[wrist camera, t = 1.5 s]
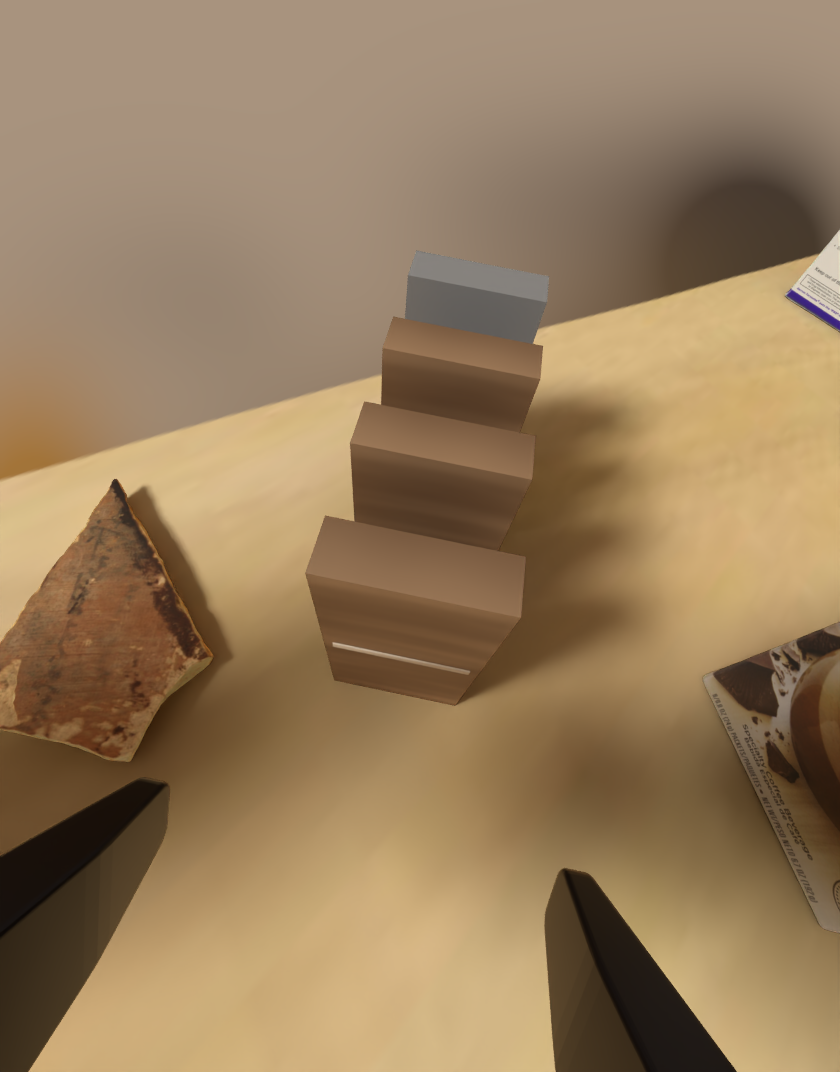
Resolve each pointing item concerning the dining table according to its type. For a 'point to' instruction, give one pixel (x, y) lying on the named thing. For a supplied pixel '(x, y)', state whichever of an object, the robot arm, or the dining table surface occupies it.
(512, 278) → the domino
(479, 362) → the domino
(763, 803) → the coffee box
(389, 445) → the domino
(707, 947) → the dining table surface
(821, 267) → the supplement box
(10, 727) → the shard
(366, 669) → the domino
